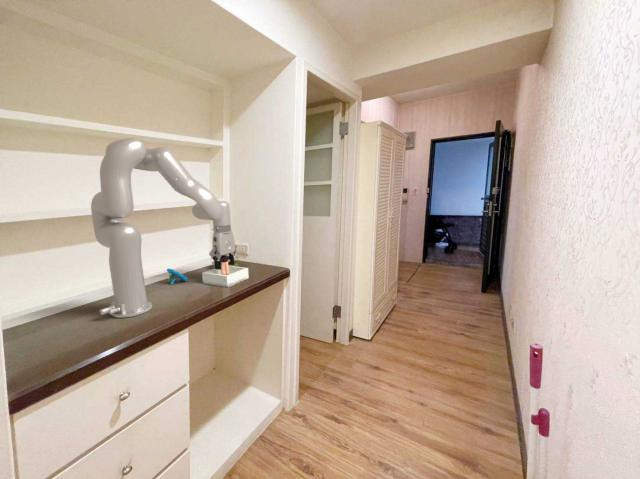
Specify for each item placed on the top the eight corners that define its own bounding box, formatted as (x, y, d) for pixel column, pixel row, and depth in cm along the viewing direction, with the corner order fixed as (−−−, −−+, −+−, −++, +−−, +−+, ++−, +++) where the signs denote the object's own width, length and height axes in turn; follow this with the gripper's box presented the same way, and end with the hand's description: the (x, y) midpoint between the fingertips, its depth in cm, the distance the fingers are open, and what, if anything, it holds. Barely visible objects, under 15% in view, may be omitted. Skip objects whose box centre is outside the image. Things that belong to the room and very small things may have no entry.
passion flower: (220, 280, 159) (206, 262, 158) (232, 271, 168) (219, 254, 167) (233, 270, 154) (218, 252, 152) (245, 261, 163) (231, 244, 162)
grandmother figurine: (225, 277, 136) (223, 249, 134) (217, 277, 137) (215, 249, 134) (233, 272, 143) (231, 246, 141) (225, 272, 144) (223, 246, 142)
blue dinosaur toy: (192, 279, 138) (174, 267, 133) (185, 290, 136) (166, 279, 130) (181, 277, 146) (164, 266, 140) (174, 288, 143) (156, 277, 137)
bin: (227, 287, 131) (226, 276, 130) (203, 283, 137) (202, 272, 136) (248, 278, 144) (248, 267, 143) (225, 274, 150) (224, 265, 149)
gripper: (214, 232, 127) (217, 272, 130) (241, 227, 142) (243, 263, 145) (201, 231, 130) (204, 270, 133) (229, 226, 146) (231, 261, 149)
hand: (224, 266), depth 139 cm, fingers closed on grandmother figurine, 7 cm apart
